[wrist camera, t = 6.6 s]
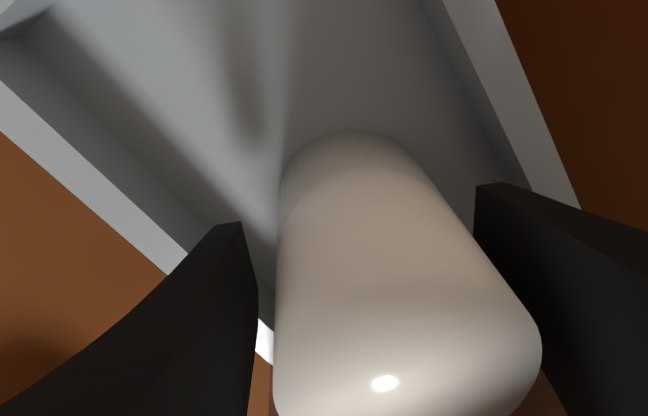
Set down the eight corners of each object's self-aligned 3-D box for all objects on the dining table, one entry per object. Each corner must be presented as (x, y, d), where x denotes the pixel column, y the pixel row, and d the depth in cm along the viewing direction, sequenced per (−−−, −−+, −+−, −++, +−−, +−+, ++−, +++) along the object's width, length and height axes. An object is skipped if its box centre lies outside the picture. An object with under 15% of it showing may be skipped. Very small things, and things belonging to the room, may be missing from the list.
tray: (-27, 24, 10) (-110, 36, 8) (313, -305, 8) (324, -411, 6) (310, 346, 16) (314, 401, 14) (551, 211, 14) (599, 251, 12)
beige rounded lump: (283, 264, 13) (282, 473, 8) (272, 132, 11) (258, 288, 6) (417, 255, 14) (512, 451, 8) (430, 125, 11) (574, 265, 6)
